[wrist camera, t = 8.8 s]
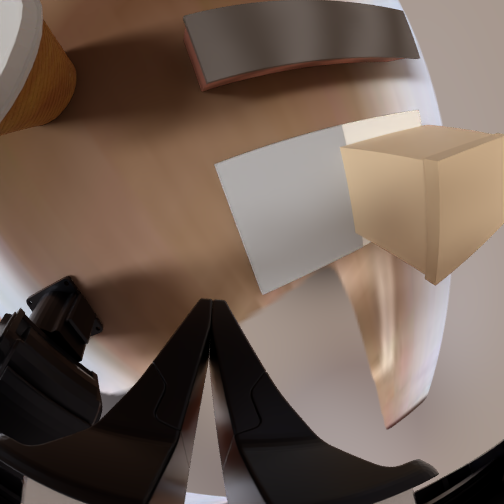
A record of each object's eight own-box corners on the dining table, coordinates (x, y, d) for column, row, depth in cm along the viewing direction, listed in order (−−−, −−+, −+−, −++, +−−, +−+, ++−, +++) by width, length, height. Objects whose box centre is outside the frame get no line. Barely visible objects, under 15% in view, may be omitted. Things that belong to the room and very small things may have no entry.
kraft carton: (354, 235, 27) (435, 285, 17) (337, 145, 22) (437, 161, 12) (434, 194, 29) (505, 222, 19) (427, 122, 24) (506, 134, 14)
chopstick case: (200, 94, 18) (207, 82, 14) (180, 39, 16) (183, 16, 12) (389, 63, 21) (419, 58, 17) (374, 20, 18) (402, 10, 14)
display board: (260, 292, 27) (262, 294, 26) (214, 164, 21) (215, 164, 20) (427, 210, 30) (430, 211, 29) (416, 109, 24) (419, 110, 23)
